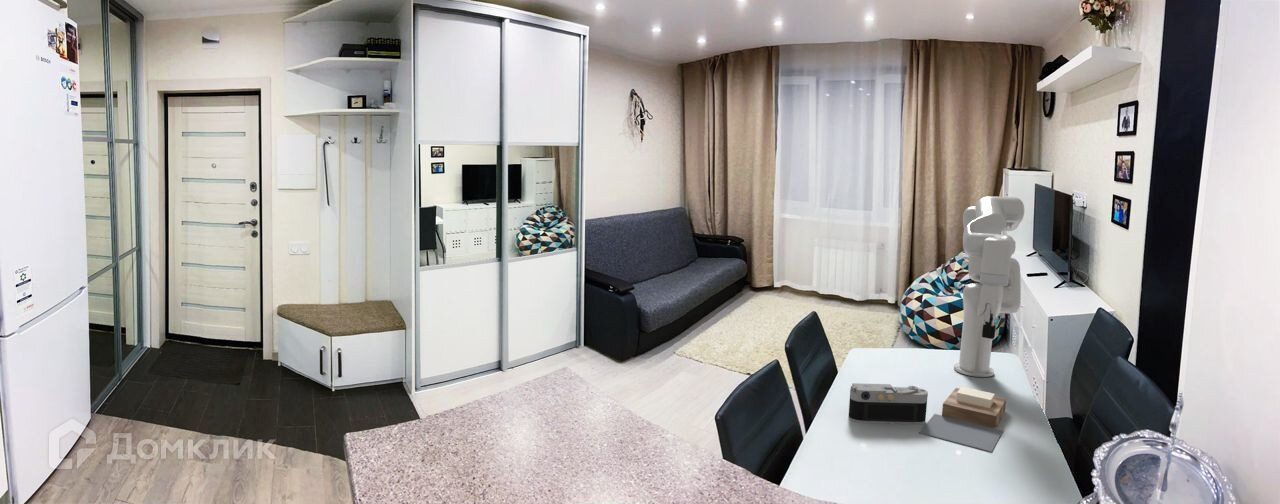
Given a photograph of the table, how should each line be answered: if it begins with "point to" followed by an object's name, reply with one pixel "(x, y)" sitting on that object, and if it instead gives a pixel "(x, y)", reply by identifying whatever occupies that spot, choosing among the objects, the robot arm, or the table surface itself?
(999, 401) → the brown flat block
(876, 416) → the camera
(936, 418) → the mat
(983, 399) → the cream rectangular block
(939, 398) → the table surface
